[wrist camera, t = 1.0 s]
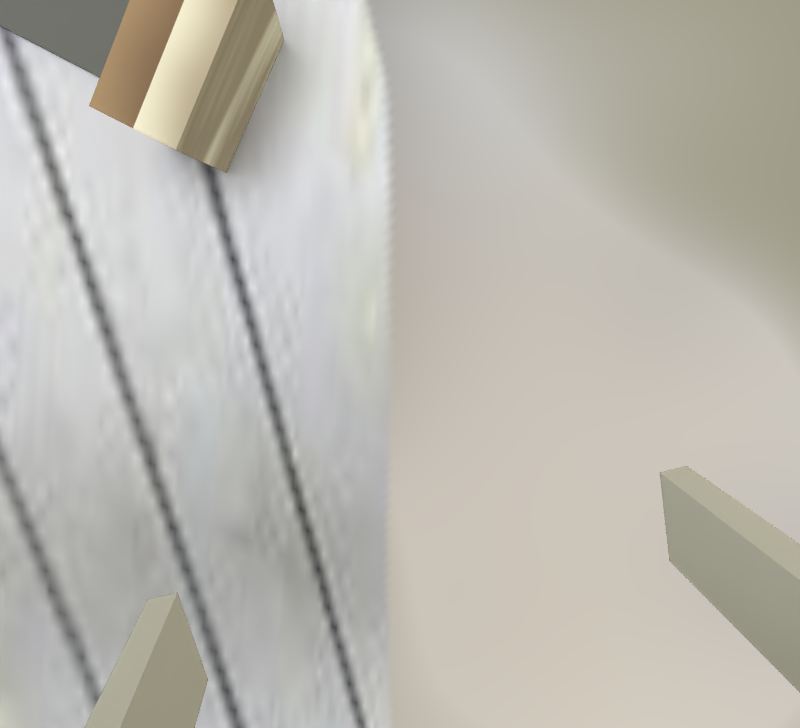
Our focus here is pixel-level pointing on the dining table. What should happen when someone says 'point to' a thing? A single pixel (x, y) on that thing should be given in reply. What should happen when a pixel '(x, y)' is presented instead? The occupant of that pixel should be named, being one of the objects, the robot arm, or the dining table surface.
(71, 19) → the mat
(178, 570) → the dining table surface
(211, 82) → the slab
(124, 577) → the dining table surface
